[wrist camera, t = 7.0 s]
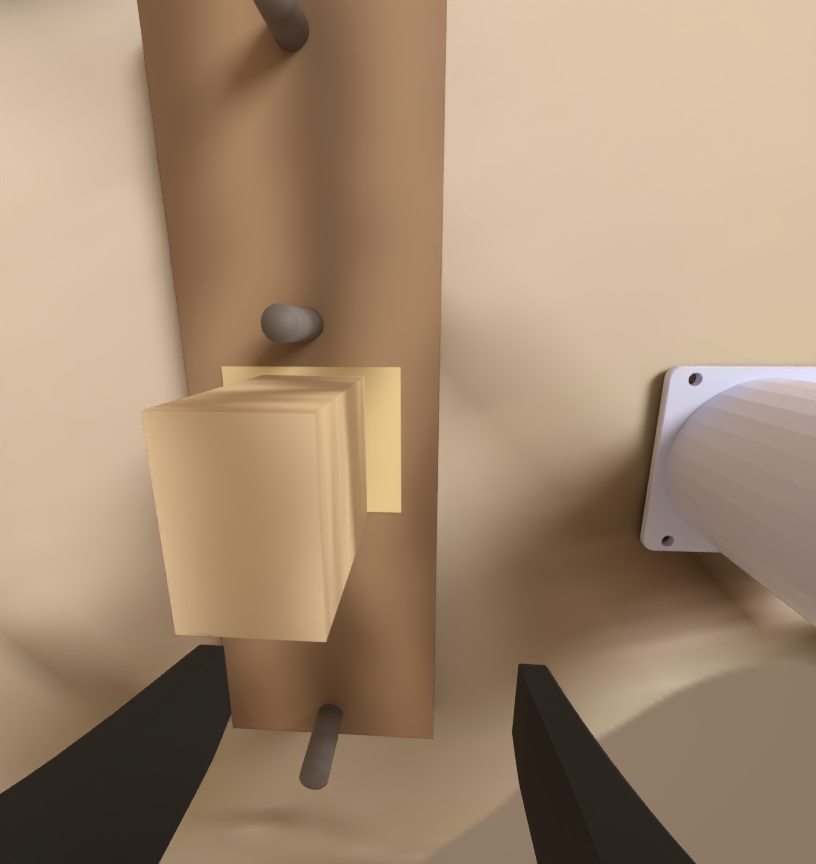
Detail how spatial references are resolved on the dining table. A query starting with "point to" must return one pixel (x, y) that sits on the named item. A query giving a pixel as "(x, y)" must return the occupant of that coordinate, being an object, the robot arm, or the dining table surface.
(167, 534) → the light brown rectangular slab
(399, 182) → the peg board
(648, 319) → the dining table surface
